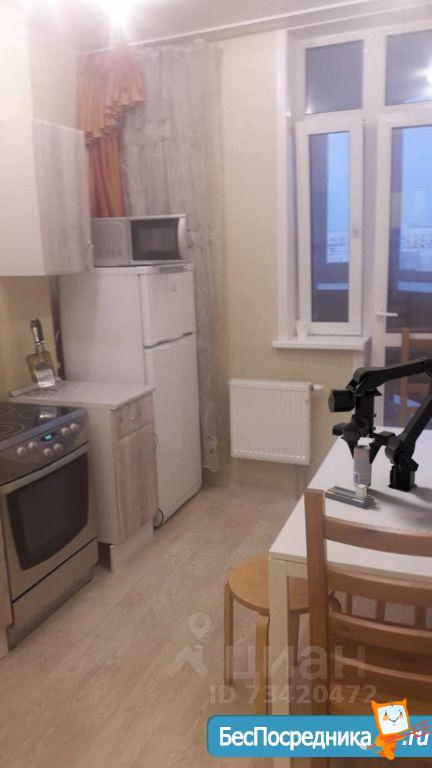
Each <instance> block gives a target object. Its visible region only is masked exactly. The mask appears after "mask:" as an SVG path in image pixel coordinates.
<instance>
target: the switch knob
mask: <svg viewBox="0 0 432 768" xmlns="http://www.w3.org/2000/svg"><path fill="white" fill-rule="evenodd" d="M367 489H368V488H367V486H366V485H363V484H359V485H357V486H356V487H355V491H356V497H359V498H363V499H364V498H366V494H367Z"/></svg>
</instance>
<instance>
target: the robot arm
mask: <svg viewBox="0 0 432 768" xmlns="http://www.w3.org/2000/svg"><path fill="white" fill-rule="evenodd" d="M423 373H424V374H425V375H426V376H428V377H429V378H430V382H429V385H428V392H427V394H426V395H425V397H424V399H423V400H422V401H421V403H420V404H419V405H418V408H417V409H416V410H415V412H414V414H413V415H412V417H411V418H410V419H409V420H408V421H409V422H408V423H407V424H406V426H405V427H404V429H403V431H401V433H398V434H396V433H395V432H393V431H388V430H383V431H380V432H375V431H377V427H376V426H375V418H377V413H375V404H376V403H375V401H376V400H375V399H376V397H382V396H383V393H382V392H380V391H379V389H378V388H379V387H381V386H383V385H385V383H387V382H389V381H393V380H394V381H395V380H399V379H402V378H406V377H410V376H415V375H419V374H423ZM327 406H328V410H329V412H330V413H333V414H335V413H350V412H352V411H353V414H351V417H350V418H351V419H350V422H340V423H336V424H334V425H333V426H332V429H331V435H333V436H338V437H340V439H341V440H343V441H344V442H345V443H346V444H347V447H348V449H349V451H350V455H351V458H352V460H353V461H354V448H355V446H357V445H359V441H360V439H361V438H363V439H365V438H367V439H370V440H371V439H372V441H371V442H369V443H368V446H370V464H372V465H373V463H374V462H375V459H376V457H377V455H378V453H379V451H380V450H381V448H382V446H383V447H384V455H385V457H386V458H387V459H388V460H389V463H390V464H391V467H390V468H391V469H390V470H389V484H387V487H389V488H392V489H396V490H400V491H403V492H409V491H411V490H413V489H414V488H416V487H418V484H417V483H415V482H416V481H415V480H416V472H417V471H418V469H419V466H420V465H419V464H418V462H417V461H416V460H415V459H413V456H414V453H415V450H416V445H417V443H416V442H417V441H418V439H419V438H420V436H421V435H422V434H423V431H424V430H425V429H426V427H427V425H428V424H429V422H430V421H431V420H432V358H428V357H425V356H421V357H418V358H416V359H412V360H408V361H401V362H398V363H395V364H391V365H386V366H362V367H357V368H356V369H355V371H354V372H353V373H352V378H351V379H350V381H349V382H348V383H347V385H346V386H345V387H344V388H342V389H337V388H332V389H330V394H329V395H328V399H327Z"/></svg>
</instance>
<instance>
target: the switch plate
mask: <svg viewBox="0 0 432 768" xmlns="http://www.w3.org/2000/svg"><path fill="white" fill-rule="evenodd" d="M324 491H325V497H324V498H328V499H332V500H334V501H339V502H341V503H345V504H347V505H352V506H355V507H359V508H362V509H364V508H366V507H368V506H369V505H371V504H373V503H375V496H373V495H371V494H367V493H366V498H364V499H363V498H359V497H356V490H353V489H350V488H346V487H342V486H339V485H333V486H332V487H330V488H327V490H324Z"/></svg>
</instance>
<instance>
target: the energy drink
mask: <svg viewBox="0 0 432 768" xmlns="http://www.w3.org/2000/svg"><path fill="white" fill-rule="evenodd" d="M372 470H373V463H372V464H370V446H369V444H368V445H367V444H358V445H357V446H355V448H354V460H353V469H352V471H353V472H352V473H353V474H352V485H353V486H354V487H355V488H356V486H357V485H359V484H363V485H366V486H367V489H369V488H370V487H371V486H372V475H373V474H372V473H373V471H372Z"/></svg>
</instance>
